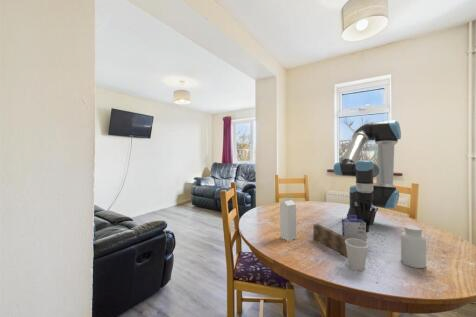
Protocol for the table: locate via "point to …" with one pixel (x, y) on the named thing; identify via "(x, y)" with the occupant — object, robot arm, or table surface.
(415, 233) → the pill bottle
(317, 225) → the walnut board
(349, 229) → the ink cartridge box
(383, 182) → the robot arm
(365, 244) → the dixie cup
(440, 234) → the table surface
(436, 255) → the table surface
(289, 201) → the milk
